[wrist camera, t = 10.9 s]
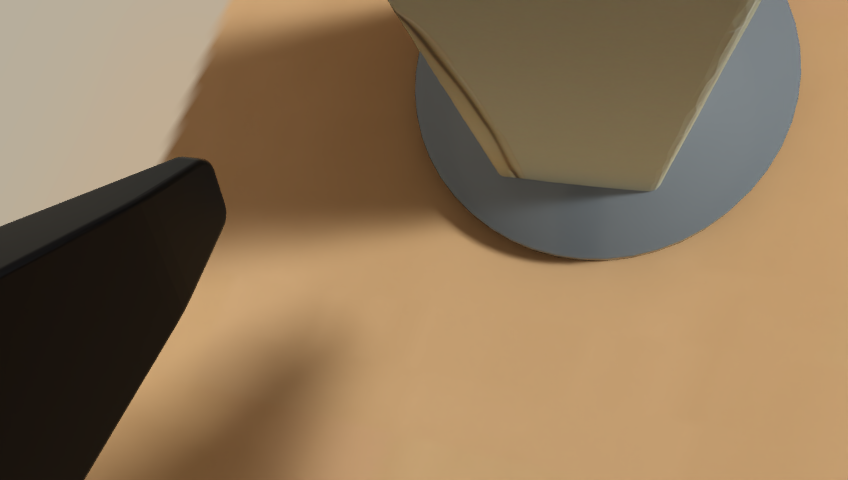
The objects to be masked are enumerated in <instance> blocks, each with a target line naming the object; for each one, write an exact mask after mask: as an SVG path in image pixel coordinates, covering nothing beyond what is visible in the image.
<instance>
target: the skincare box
mask: <svg viewBox="0 0 848 480" xmlns="http://www.w3.org/2000/svg"><path fill="white" fill-rule="evenodd" d="M388 2H389V3H390V5H391V6H392V8H393V10H394V12H395V13H396V15H397V16H398V17H399V19H400V21H401V22H402V24H403V26H404V27H405V29H406V30H407V32H408V33H409V35H410V36H411V38H412V39H413V41H414V43H415V45H416V46H417V48H418V49H419V51H420V52H421V53H422V55H423V56H424V58H425V59H426V61H427V63H428V65H429V66H430V68H431V69H432V71H433V73H434V74H435V75H436V77H437V78H438V80H439V82H440V84H441V85H442V86H443V88H444V89H445V91H446V92H447V94H448V95H449V97H450V98H451V100H452V102H453V103H454V105H455V107H456V108H457V110H458V111H459V113H460V114H461V116H462V118H463V120H464V121H465V122H466V124H467V125H468V127H469V128H470V130H471V131H472V133H473V134H474V136H475V138H476V139H477V141H478V142H479V144H480V145H481V147H482V148H483V150H484V152H485V153H486V155H487V156H488V158H489V159H490V161H491V163H492V164H493V166H494V167H495V169H496V170H497V172H498V173H499V174H500V175H501V176H504V177H513V178H521V179H530V180H538V181H546V182H554V183H564V184H574V185H584V186H593V187H603V188H614V189H626V190H637V191H654V190H656V189H657V188H658V187H659V186H660V185H661V183H662V181H663V179H664V177H665V175H666V173H667V171H668V170H669V168H670V166H671V164H672V162H673V160H674V159H675V157H676V155H677V153H678V151H679V150H680V148H681V146H682V144H683V142H684V141H685V139H686V137H687V135H688V133H689V131H690V130H691V128H692V126H693V124H694V122H695V121H696V119H697V117H698V115H699V113H700V111H701V110H702V108H703V106H704V104H705V102H706V100H707V98H708V96H709V94H710V93H711V91H712V89H713V87H714V85H715V83H716V81H717V80H718V78H719V76H720V74H721V72H722V70H723V69H724V67H725V65H726V63H727V61H728V59H729V58H730V56H731V54H732V52H733V51H734V49H735V47H736V45H737V44H738V42H739V40H740V38H741V36H742V35H743V33H744V31H745V29H746V28H747V26H748V24H749V22H750V20H751V19H752V17H753V15H754V13H755V11H756V10H757V8H758V6H759V4H760V2H761V0H388Z"/></svg>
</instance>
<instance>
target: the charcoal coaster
mask: <svg viewBox="0 0 848 480" xmlns="http://www.w3.org/2000/svg"><path fill="white" fill-rule="evenodd" d="M800 77H801V59H800V45H799V40H798V34H797V29H796V24H795V21H794V18H793V15H792V12H791V10H790V7H789V4H788V1H787V0H761V2H760V4H759V6H758V8H757V10H756V11H755V13H754V15H753V17H752V19H751V20H750V22H749V24H748V26H747V28H746V29H745V31H744V33H743V35H742V36H741V38H740V40H739V42H738V44H737V45H736V47H735V49H734V51H733V52H732V54H731V56H730V58H729V59H728V61H727V63H726V65H725V67H724V69H723V70H722V72H721V74H720V76H719V78H718V80H717V81H716V83H715V85H714V87H713V89H712V91H711V93H710V94H709V96H708V98H707V100H706V102H705V104H704V106H703V108H702V110H701V111H700V113H699V115H698V117H697V119H696V121H695V122H694V124H693V126H692V128H691V130H690V131H689V133H688V135H687V137H686V139H685V141H684V142H683V144H682V146H681V148H680V150H679V151H678V153H677V155H676V157H675V159H674V160H673V162H672V164H671V166H670V168H669V170H668V171H667V173H666V175H665V177H664V179H663V181H662V183H661V185H660V186H659V187H658V188H657V189H656V190H654V191H637V190H626V189H614V188H603V187H593V186H584V185H574V184H564V183H554V182H546V181H538V180H530V179H521V178H513V177H504V176H501V175H500V174H499V173H498V172H497V170H496V169H495V167H494V166H493V164H492V163H491V161H490V159H489V158H488V156H487V155H486V153H485V152H484V150H483V148H482V147H481V145H480V144H479V142H478V141H477V139H476V138H475V136H474V134H473V133H472V131H471V130H470V128H469V127H468V125H467V124H466V122H465V121H464V120H463V118H462V116H461V114H460V113H459V111H458V110H457V108H456V107H455V105H454V103H453V102H452V100H451V98H450V97H449V95H448V94H447V92H446V91H445V89H444V88H443V86H442V85H441V84H440V82H439V80H438V78H437V77H436V75H435V74H434V73H433V71H432V69H431V68H430V66H429V65H428V63H427V61H426V59H425V58H424V56H423V55H422V53H421V52H420V51H419V57H418V63H417V69H416V85H415V98H416V108H417V117H418V122H419V126H420V130H421V134H422V138H423V141H424V143H425V146H426V149H427V151H428V154H429V156H430V159H431V161H432V162H433V164H434V166H435V168H436V170H437V171H438V173H439V175H440V177H441V178H442V180H443V181H444V182H445V184H446V185H447V187H448V188H449V189H450V191H451V192H452V193H453V195H454V196H455V197H456V198H457V199H458V200H459V201H460V202H461V203H462V204H463V205H464V206H465V207H466V208H467V209H468V210H469V211H470V212H471V213H472V214H473V215H474V216H475V217H477V218H478V219H479V220H481V221H482V222H483V223H484V224H486V225H487V226H488V227H490V228H491V229H492V230H493V231H495V232H497V233H499V234H500V235H502V236H504V237H506V238H507V239H509V240H511V241H512V242H515V243H517V244H519V245H522V246H524V247H527V248H529V249H531V250H534V251H537V252H541V253H545V254H548V255H552V256H556V257H561V258H568V259H575V260H593V261H608V260H616V259H625V258H633V257H637V256H641V255H645V254H649V253H653V252H657V251H659V250H662V249H665V248H667V247H670V246H672V245H675V244H678V243H680V242H682V241H684V240H686V239H688V238H690V237H692V236H693V235H695V234H697V233H699V232H701V231H703V230H704V229H706V228H707V227H708V226H710V225H711V224H713V223H714V222H715V221H717V220H718V219H720V218H721V217H722V216H724V215H725V214H726V213H727V212H728V211H729V210H731V209H732V208H733V207H734V206H735V205H736V204H737V203H738V202H739V201H740V200H741V199H742V198H743V197H744V196H745V195H746V194H748V193H749V192H750V191H751V189H752V188H753V187H754V186H755V185H756V183H757V182H758V181H759V180H760V178H761V177H762V176H763V175H764V173H765V172H766V171H767V170H768V168H769V166H770V165H771V163H772V161H773V160H774V158H775V157H776V155H777V153H778V152H779V150H780V148H781V146H782V144H783V142H784V139H785V137H786V135H787V132H788V130H789V128H790V125H791V123H792V119H793V115H794V112H795V108H796V104H797V100H798V95H799V86H800Z"/></svg>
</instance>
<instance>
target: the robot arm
mask: <svg viewBox="0 0 848 480" xmlns="http://www.w3.org/2000/svg"><path fill="white" fill-rule="evenodd" d="M225 220H226V207H225V203H224V200H223V197H222V194H221V191H220V187H219V184H218V181H217V178H216V175H215V172H214V169H213V167H212V165H211V164H210V163H209V162H208V161H207V160H205V159H199V158H189V157H178V158H174V159H172V160H169V161H167V162H164V163H162V164H159V165H157V166H154V167H151V168H149V169H146V170H144V171H141V172H139V173H136V174H134V175H131V176H128V177H126V178H123V179H121V180H118V181H116V182H113V183H111V184H108V185H105V186H103V187H101V188H98V189H95V190H93V191H90V192H88V193H85V194H82V195H80V196H77V197H75V198H72V199H70V200H67V201H64V202H62V203H59V204H57V205H54V206H52V207H49V208H46V209H44V210H41V211H39V212H36V213H34V214H31V215H29V216H26V217H23V218H21V219H18V220H16V221H13V222H11V223H8V224H6V225H3V226H1V227H0V480H84V479H85V478H86V476H87V474H88V473H89V471H90V469H91V468H92V466H93V464H94V463H95V461H96V459H97V458H98V456H99V454H100V452H101V451H102V449H103V447H104V446H105V444H106V442H107V441H108V439H109V437H110V436H111V434H112V432H113V431H114V429H115V427H116V426H117V424H118V422H119V421H120V419H121V417H122V416H123V414H124V412H125V411H126V409H127V407H128V406H129V404H130V402H131V400H132V399H133V397H134V395H135V394H136V392H137V390H138V389H139V387H140V385H141V384H142V382H143V380H144V379H145V377H146V375H147V374H148V372H149V370H150V369H151V367H152V365H153V364H154V362H155V360H156V359H157V357H158V355H159V354H160V352H161V350H162V349H163V347H164V345H165V343H166V342H167V340H168V338H169V337H170V335H171V333H172V332H173V330H174V328H175V327H176V325H177V323H178V321H179V320H180V318H181V316H182V314H183V313H184V311H185V309H186V307H187V305H188V303H189V301H190V299H191V297H192V294H193V292H194V290H195V288H196V286H197V284H198V281H199V279H200V277H201V275H202V273H203V270H204V268H205V266H206V264H207V262H208V260H209V257H210V255H211V253H212V251H213V249H214V247H215V244H216V242H217V240H218V238H219V236H220V234H221V231H222V229H223V227H224V224H225Z"/></svg>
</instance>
